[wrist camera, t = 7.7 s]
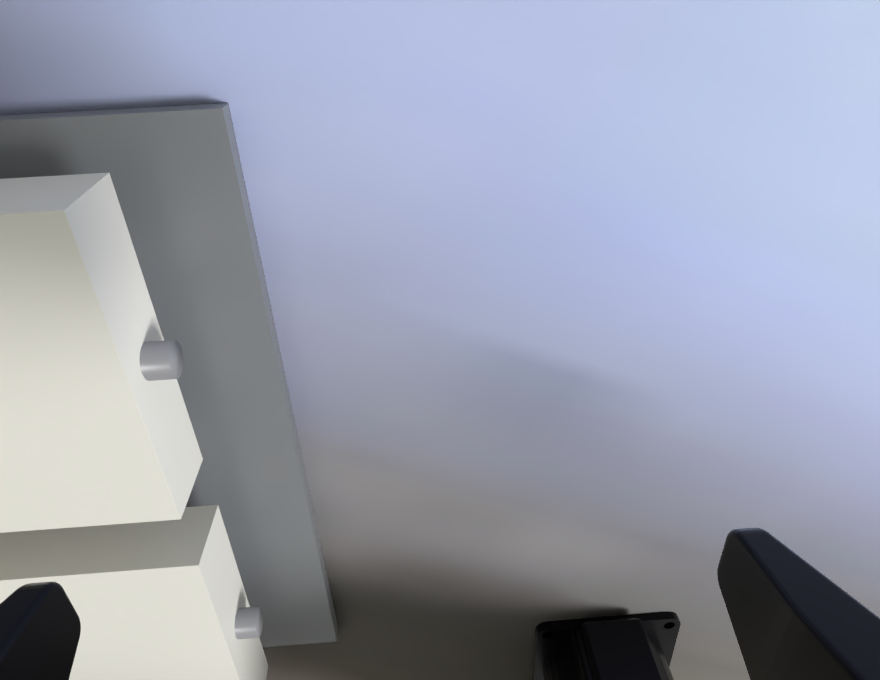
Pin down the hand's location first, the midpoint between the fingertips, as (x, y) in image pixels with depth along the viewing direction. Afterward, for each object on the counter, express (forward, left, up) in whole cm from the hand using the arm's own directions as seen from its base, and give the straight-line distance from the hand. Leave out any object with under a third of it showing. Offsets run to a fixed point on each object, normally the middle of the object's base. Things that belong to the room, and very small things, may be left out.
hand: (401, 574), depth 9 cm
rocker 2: (-13, +12, -8) cm, 19 cm away
